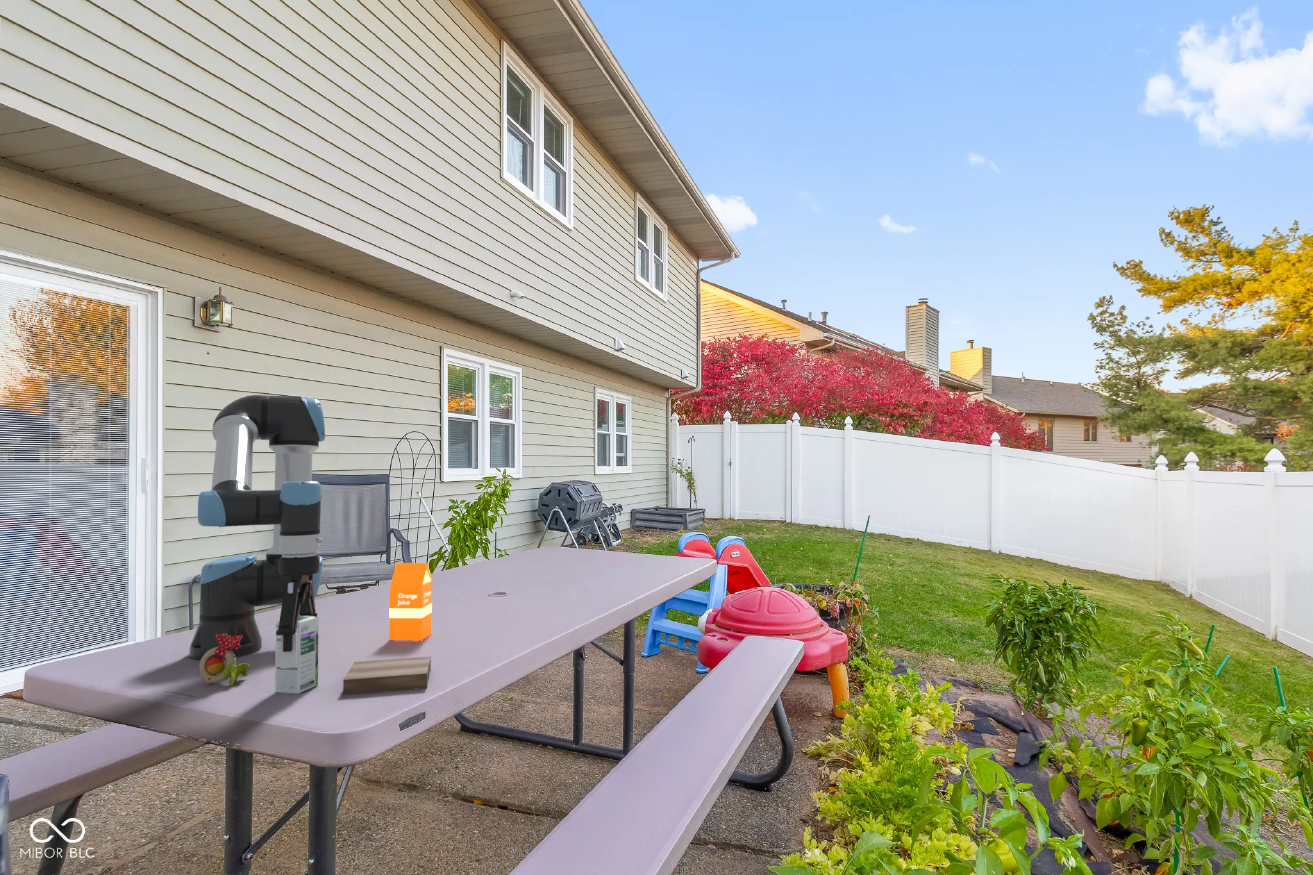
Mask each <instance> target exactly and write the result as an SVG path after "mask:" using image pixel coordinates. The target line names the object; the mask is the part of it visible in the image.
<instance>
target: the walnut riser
mask: <svg viewBox="0 0 1313 875" xmlns="http://www.w3.org/2000/svg"><path fill="white" fill-rule="evenodd" d="M431 662H432V657H431V656H420V657H405V658H403V657H402V658H393V659H392V658H391V659H389V658H388V659H379V660H375V659H374V660H364V661H354V662H352V665H351V667H350V668H349V670H348V672H347V673H346V674H345V677H344V678H343V680H342V682H343V684H342V695H343V696H346V695H347V696H348V695H358V694H359V695H360V694H361V695H362V694H368V693H369V694H370V693H371V694H373V693H380V692H381V693H384V692H394V691H395V692H396V691H407V690H416V689H415V688H421V689H427V688H428V684H429V680H430V674H431V670H432V669H431V665H432V663H431Z"/></svg>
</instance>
